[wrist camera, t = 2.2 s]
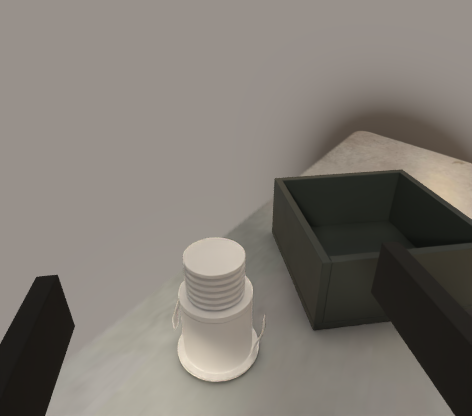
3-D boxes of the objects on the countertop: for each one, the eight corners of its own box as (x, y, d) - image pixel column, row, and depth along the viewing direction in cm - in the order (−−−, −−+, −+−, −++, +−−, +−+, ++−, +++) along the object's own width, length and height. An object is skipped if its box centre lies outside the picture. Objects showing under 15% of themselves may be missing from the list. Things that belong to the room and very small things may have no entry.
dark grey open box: (313, 330, 32) (322, 263, 28) (271, 231, 47) (274, 178, 43) (477, 310, 34) (507, 244, 30) (389, 221, 49) (402, 169, 45)
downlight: (272, 327, 33) (277, 238, 28) (251, 396, 27) (254, 299, 22) (192, 308, 35) (184, 222, 30) (158, 368, 29) (141, 274, 24)
